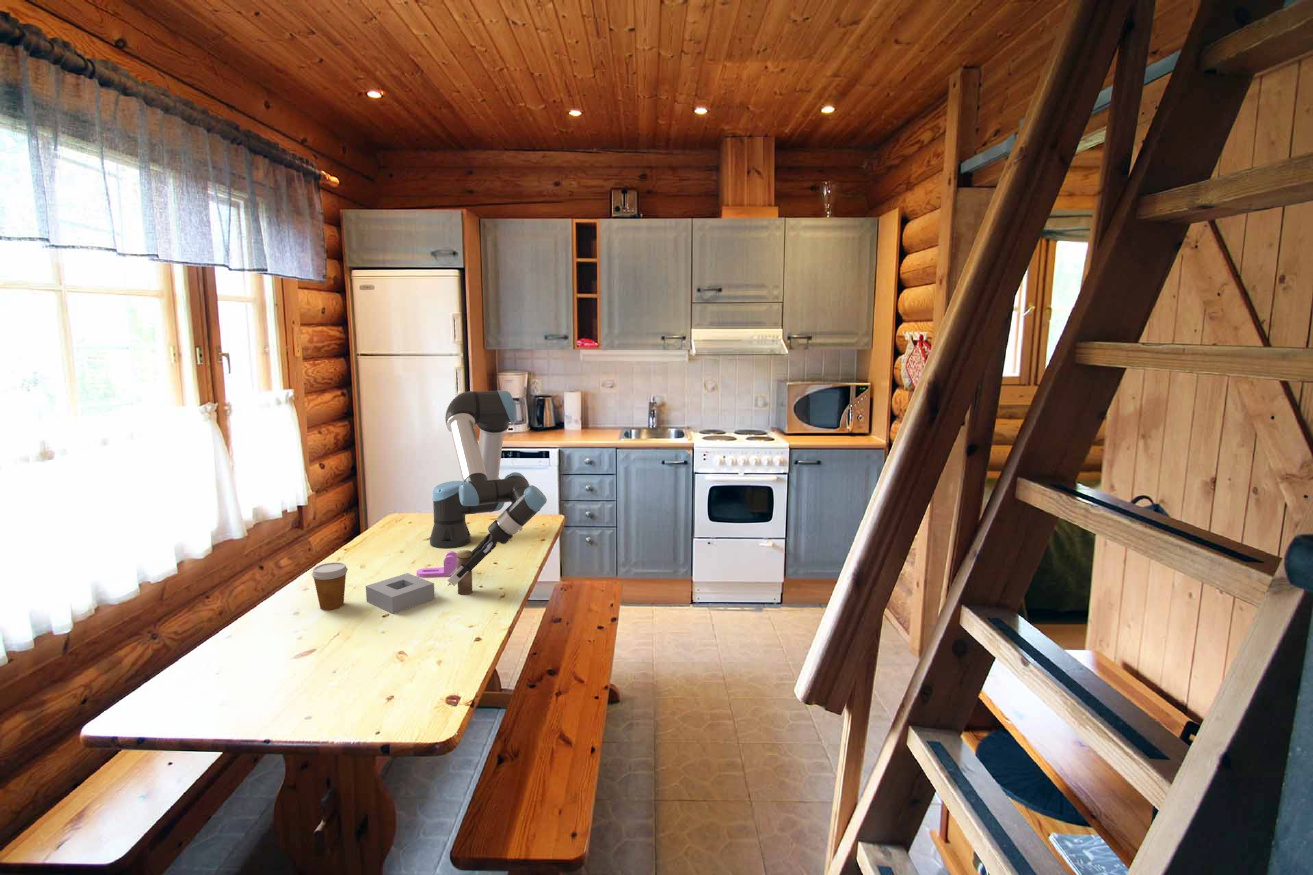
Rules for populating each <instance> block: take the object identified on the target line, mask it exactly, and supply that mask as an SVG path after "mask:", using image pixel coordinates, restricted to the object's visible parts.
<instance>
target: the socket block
mask: <svg viewBox="0 0 1313 875" xmlns="http://www.w3.org/2000/svg"><path fill="white" fill-rule="evenodd" d="M365 595H366V596H365V598H366V603H368V604H370V605H373V606H375V607H377V608H380V609H381V610H384V611H385V612H388V613H391V614H393V615H394V614H396V613H399V612H401V611H402V612H403V611H404V610H407V609H410V608H414V607H417V606H418V605H421V604H424V603H427V602H430V601H432V600H435V599H436V597H435V595H436V594H435V583H434V582H432V581H429V580H426V579H424V578H422V577H417V575H414V574H412V573H408V572H406V573H404V574H400V575H396V576H394V577H391V578H388V579H384V580H380V581H378V582H374V583H371V584H368V585H365Z"/></svg>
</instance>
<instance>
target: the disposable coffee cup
mask: <svg viewBox="0 0 1313 875" xmlns="http://www.w3.org/2000/svg"><path fill="white" fill-rule="evenodd" d="M347 573H348V567H347V565H346V564H345V563H343V562H336V561H335V562H326V563H322V564H321V563H320V564H319V565H316V566H314V567H313V568H312V572H311V576H312V578H313V579H314V580H313V581H314V586H315V591H316V595H317V600H318V604H319V609H320V610H323V611H334V610H336V609H340V608H343V606H344V602H345V590H346V580H347V579H346V578H347V577H346V576H347Z"/></svg>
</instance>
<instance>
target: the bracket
mask: <svg viewBox="0 0 1313 875" xmlns="http://www.w3.org/2000/svg"><path fill="white" fill-rule="evenodd" d="M444 557H445V558H444V559H443V567H424V568H420V569H418V570H416V571H415V572H416V576H417V577H419V578H422V579H424V578H443V577H445V578H446V577H451V575H450V574H451V573H452V572H453V571H454V570H455V569H456V568H457V557H456V552H455V551H449V552H447V553H446V555H445V556H444Z"/></svg>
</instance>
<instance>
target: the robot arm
mask: <svg viewBox="0 0 1313 875" xmlns="http://www.w3.org/2000/svg"><path fill="white" fill-rule="evenodd" d="M513 398H514V397H513V395H512V393H511V392H510V391H508V390H498V389H497V390H481V391H479V390H476V391H475V390H474V391H471V390H470V391H464V392H461V393H459V394H458V395H456V396H455V397H454V398H453V399H452V401H451V402H450V403H449V405H448V407H446V408H447V409H446V412H445V417H444V418H445V425H446V428H447V430H448V432H450V433H451V437H452V441H453V444H454V448H455V453H456V457H457V461H458V464H459V469H460V473H461V478H462V480H451V481H447V482H446V481H445V482H443V483H440V484H438V485H436V486H435V487H434V488H433V491H432V502H433V503H432V505H433V506H432V508H433V527H432V530H431V534H430V537H429V545H430V546H431V547H434V548H438V549H450V548H451V549H452V548H458V547H463V546H466V545H468V544H469V543H470V542H471V540H472V539H471V538H472V537H471V533H470V530H469V527H468V524H467V523H466V516H467V515H473V514H474V515H475V514H483V513H493V512H497V511H500V510H502V509H503V507H504V506H505V503H511V504H510V505H508V507H506V509H504V510H503V511H502V513H501V514H500V515H498V516H497V518H496V519H495V520H494V521H493V522H492V523H491V524H489V526H487V531H488V532H489V533H488V534H487V535H486V536H484V539H482V540H481V542H479V543H478V545H477V546H475V548H474V549H472V550H471V552H472V556H471V558H470V559H469V560H468V561H467V562H466V563H465V564H463V563H462V564H461V567H460V568H459V569H458V570H457V568H456V569H455V570H454V571H453V572H452V573H451V574H450V575H451V576H449V578H448V579H447V582H448V583H449V584H451V585H452V586H453V587H455V586H456V585H458V582H459V581H460V580H461V579H462V578H463V577H464V576H465V575H466V574H467V573H468V572H471V571H472V572H473V569H475V567H477V566H478V564H480V562H481V561H483V560H484V559H485V558H486V557H487V556H488V555H490V553H491V552H492V550H494V549H496V547H497V544H498V543H500V544H503V545H506V544H507V543H509V541H510V540H511V539H512V538H513V535H516V534H517V533H518V532H519V531H520V532H521V531H523V527H524V526H525V525H526V524H527V523H528V522H529V521H530V520H531V519H532V518H533V517H535V515H536V514H537V513H538V512H540V511H541V509H542V508H543V507H544V506H545V505H546V504H547V502H548V501H547V497H546V495H545V494H544V493H543V491H542V490H541V489H539V488H538V487H537V486H535V485H531V484H530V483H529V481H528V479H527V478H526V477H525V476H524V474H522V473H520V472H517V471H516V472H511V473H509V474H507V475H506V476H505V477H504V478H500V476H499V475H500V468H501V460H502V451H503V440H504V434H505V433H504V432H506V431H507V430H508V429H509V427H510V423H512V424H513V423H514V422H515V420H516V406H515V402H514V399H513ZM475 425H476V427H477V429H479V437H478V438H477V434H476V430H475Z"/></svg>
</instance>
